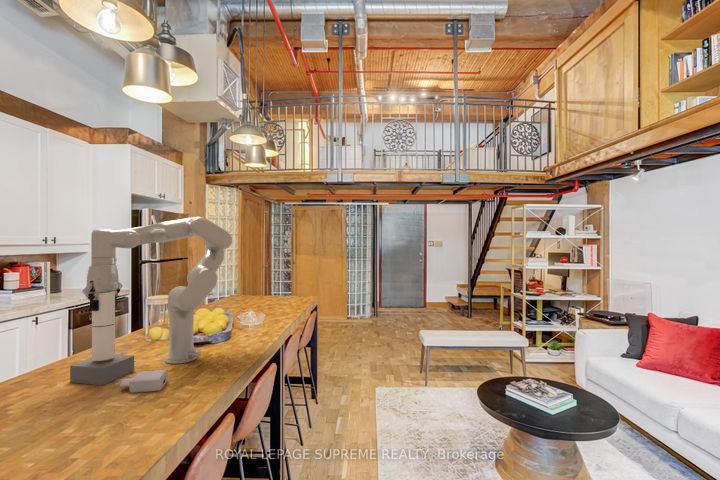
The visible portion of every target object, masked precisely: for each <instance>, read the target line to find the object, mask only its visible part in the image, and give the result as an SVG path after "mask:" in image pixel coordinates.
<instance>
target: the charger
mask: <svg viewBox="0 0 720 480" xmlns="http://www.w3.org/2000/svg"><path fill="white" fill-rule="evenodd" d="M168 380H169V370H168V369H162V370H161V369H160V370H148V371H147V370H144V371H140V372H138V373H136V374H134V376H133V377H130V378H128V377H127V378H123V380H122V381H117V382H116V383H115V385H117V386H119V387H120V388H129V392H130V393H132V394H134V393H144V392H146V393H148V392H160V391H161V390H162V389H163V388H164V386H165V385H166V384H167V383H168Z"/></svg>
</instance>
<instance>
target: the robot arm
mask: <svg viewBox="0 0 720 480" xmlns="http://www.w3.org/2000/svg"><path fill="white" fill-rule="evenodd" d="M90 236H91V237H90V238H91V239H90V240H91V241H90V242H91V243H90V244H91V246H90V247H91V249H90V251H91V252H90V253H91V255H90V256H91V258H90V259H91V260H90V261H91V263H90V264H91V265H89V266H88V270H87V277H86V286H85V288H84V289H82V290H81V291H82V294H83V295H85V297H86V298H87V300H88V301H89V310H90V312H92V311H98V310H99V300H97V298H98V296H99V293H102V292H108V291H115V308H116V307H117V305H118V303H117V302H118V299H117V297H119V293H120V292H121V290H122V288H123V287H124V286H123V284H122V283H121V282H120V281H119V273H118V272H119V271H118V270H119V269H118V266H117V264H116V263H117V260H118V259H117V257H116V256H117V253H116V250H117V249H118V248H120V249H134V248H136V247H137V246H141V245H146V244H156V243H159V244H160V243H168V242H174V241H178V240H182V239H183V240H184V239H188V238H194V237H199V238H200V239H202V240H204V245H205V253H204V255H203V256H202V258H201V259H200V260H199V261H198V262H197V263H196V265H194V267H193V268H192V269H191V270H190V271H189V272H188V274H187V276H186V282H187V286H184V285H182V286H181V285H179V286H176V287H174V288H172V289H171V290H170V291H169V293H168V296H167V307H168V316H169V317H168V318H169V320H168V323H169V324H168V325H169V327H168V332H169V333H168V341H169V343H168V356H166V357H164V362H165V363H167V364H170V365H172V364H173V365H176V364H185V363H189V362H192V361H194V360H197V359H198V358H200V357H201V353H202V351H201V350H197V348H196V347H194V344H195V341H194V339H195V337H194V335H195V333H194V331H195V330H194V326H195V322H194V321H195V320H194V319H195V316H194V310H197V308H199V307H200V305H202V303H203V302H204V301H205V300H206V299H207V297H208V296H209V295H210V294H211V292H212V291H213V289H215V287H216V286H217V283H218V275H217V273H216V272H217V271H218V270H219V269H220V267H221V265H222V264H223V261H224V258H225V249H228V248H229V247H231V245H232V242H233V237H232V235H231V234H230V232H229V231H228V230H225V229H224V228H222V227H221V226H219V225H218V224H216V223H214V222H213V221H211V220H210V219H208V218H205V217H203V216H192V217H187V218H186V217H185V218H181V219H179V218H178V219H174V220H167V221H166V220H165V221H161V222H156V223H153V224H149V225H143V226H137V227H131V228H126V229H120V230H119V229H118V230H117V229H115V230H113V229H94V230H92V232H91V235H90ZM116 248H117V249H116ZM94 294H95V295H94Z"/></svg>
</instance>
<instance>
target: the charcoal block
mask: <svg viewBox="0 0 720 480" xmlns="http://www.w3.org/2000/svg"><path fill="white" fill-rule="evenodd" d="M69 370H70V371H69V382H70V383H76V384H85V385H86V384H88V385H99V386H104V385H106V384H108V383H111V382H113V381H115V380H117V379H119V378H122V377H124V376H126V375H129V374H131V373H133V372H135V355H125V354H115V357H114V358H111V359H108V360H102V361H93V360H92V357H91V358H88V359H85V360H82V361H80V362H77V363H74V364H72V365H69Z"/></svg>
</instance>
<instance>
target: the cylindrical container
mask: <svg viewBox="0 0 720 480" xmlns="http://www.w3.org/2000/svg"><path fill="white" fill-rule="evenodd" d="M94 295H95V294H94ZM97 300H99V310H98V311H91V358H92V360H93V361H102V360H108V359H111V358H114V357H115V355H116V307H115V291H108V292H102V293H99V296H98V298H97Z"/></svg>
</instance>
